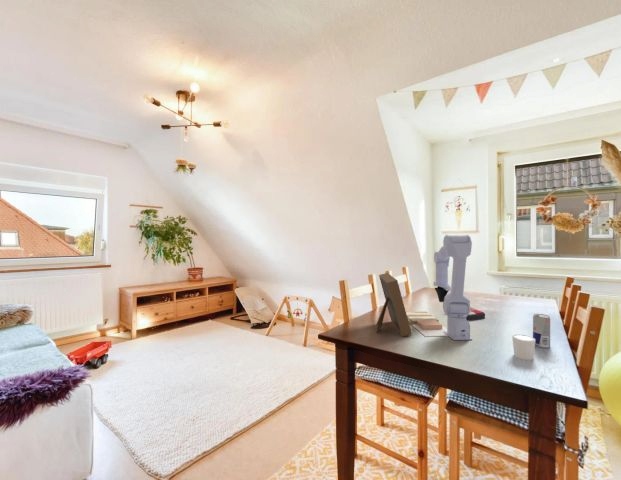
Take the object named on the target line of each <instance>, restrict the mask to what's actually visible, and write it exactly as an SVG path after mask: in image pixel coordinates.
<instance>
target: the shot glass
mask: <svg viewBox="0 0 621 480" xmlns="http://www.w3.org/2000/svg"><path fill="white" fill-rule="evenodd" d="M511 336H512V337H511V338H512V339H511V340H512V346H513V356H515V358H517V359H521V360H525V361H533V359H534V356H535V347H536V346H535V339H534V338H533V336H530V335H526V334H512V335H511Z"/></svg>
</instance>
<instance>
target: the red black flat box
mask: <svg viewBox="0 0 621 480" xmlns="http://www.w3.org/2000/svg"><path fill="white" fill-rule="evenodd" d="M470 308H471V310H470V313H469V315H467V317H466V320H467V321H468V320H469V321H475V320H476V321H477V320H483V319H486V313H485V312H484V311H481V310H478V309H476V308H473V307H470ZM469 321H468V322H469Z"/></svg>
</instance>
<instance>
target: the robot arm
mask: <svg viewBox="0 0 621 480" xmlns="http://www.w3.org/2000/svg"><path fill="white" fill-rule="evenodd" d="M442 240H443V241H442V244H443V245H442V246H441V247H440V248H439V250H438V251H434V253H433V262H434V264H435V281H433V284H432V285H433V286H435V287H434V290H435V291H436V295H437V298H438V302H439V303H442V309H443V313H444V315H447V317H446V318H447V319H446V322H447V325H446V326H447V327H446V328H447V331H444V333H445V334H447V335H448V336H447V337H449V338H450V339H452V340H453V341H463V340H464V341H465V340H466V341H468V340H469V341H470V340H473V338H472V336H471V325H470V324H471V323H470V322H469V321H468V320H466V317H467V315H469V313H470V310H471V308H472V307H471V300H470V299H469V297H468V296H467V295H465V294H464V288H465V281H466V280H465V278H466V269H467V268H466V267H467V266H466V265H467V259H468V257H469V256H471V254H472V247H473V246H472V245H473V241H472V237H471V236H470V235H469V234H463V235H462V234H461V235H460V234H459V235H458V234H456V235H447V234H445V236H444V237H443V239H442ZM450 258H452V271H451V272H452V274H451V284H449V283H448V282H449V270H448V268H449V265H450ZM450 285H451V286H450Z"/></svg>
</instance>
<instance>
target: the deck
mask: <svg viewBox="0 0 621 480" xmlns="http://www.w3.org/2000/svg"><path fill="white" fill-rule="evenodd" d="M406 315H407V318H408V322H409V324H411V325H412V324H416V320H436V321H437V322H439V321H440V319H438V318H436V317H435V316H434V315H432V314H431V313H429V312H427V311H406ZM439 323H440V322H439Z"/></svg>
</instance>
